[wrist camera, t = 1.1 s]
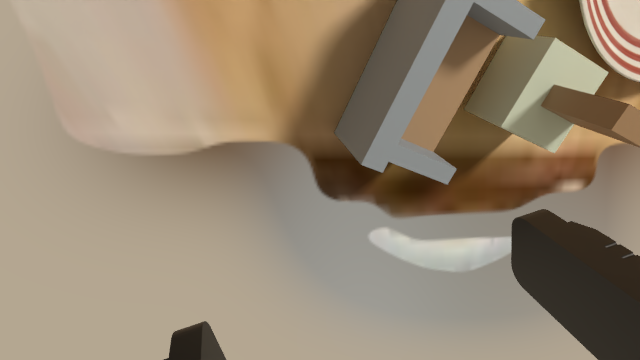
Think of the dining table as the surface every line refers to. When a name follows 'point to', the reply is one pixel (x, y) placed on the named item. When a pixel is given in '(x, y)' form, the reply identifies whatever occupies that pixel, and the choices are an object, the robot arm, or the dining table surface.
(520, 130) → the green and brown blocks
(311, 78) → the dining table surface
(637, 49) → the dinner plate
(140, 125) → the dining table surface
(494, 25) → the board
